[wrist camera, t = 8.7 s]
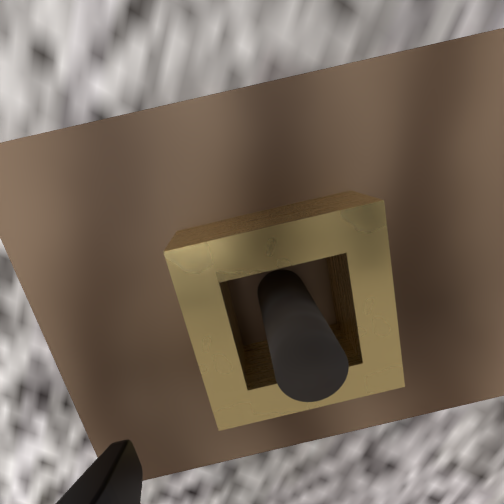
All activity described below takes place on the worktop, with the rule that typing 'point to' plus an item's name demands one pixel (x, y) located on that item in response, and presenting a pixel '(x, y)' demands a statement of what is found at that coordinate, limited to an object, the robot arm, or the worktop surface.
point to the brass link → (279, 256)
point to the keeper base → (279, 280)
